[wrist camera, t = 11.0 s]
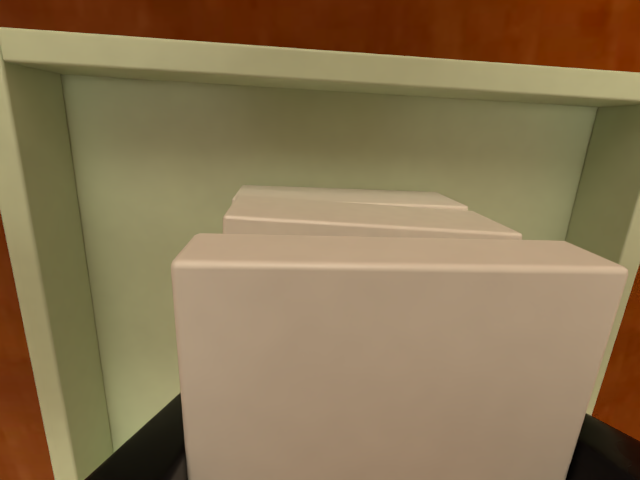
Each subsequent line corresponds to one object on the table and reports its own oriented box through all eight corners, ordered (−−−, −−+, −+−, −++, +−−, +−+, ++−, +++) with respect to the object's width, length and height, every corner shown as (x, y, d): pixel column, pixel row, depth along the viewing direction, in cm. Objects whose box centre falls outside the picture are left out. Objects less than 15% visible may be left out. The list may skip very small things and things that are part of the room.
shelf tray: (106, 465, 13) (66, 540, 11) (43, 49, 9) (-40, 23, 7) (516, 451, 15) (560, 515, 12) (608, 87, 11) (700, 76, 8)
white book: (214, 577, 7) (200, 661, 6) (194, 231, 5) (167, 261, 4) (485, 562, 8) (519, 638, 7) (565, 239, 6) (634, 268, 5)
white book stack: (240, 401, 12) (219, 526, 8) (237, 180, 10) (207, 214, 6) (411, 398, 13) (464, 514, 9) (441, 188, 11) (527, 223, 7)
